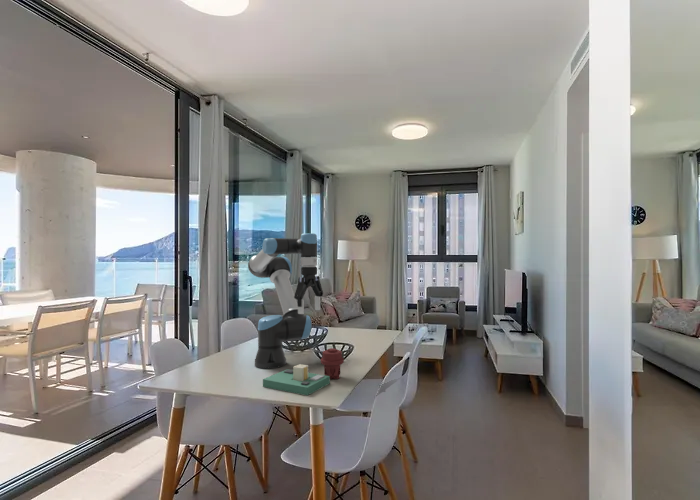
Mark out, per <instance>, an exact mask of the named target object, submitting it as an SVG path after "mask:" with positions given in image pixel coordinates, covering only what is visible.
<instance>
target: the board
mask: <svg viewBox="0 0 700 500" xmlns="http://www.w3.org/2000/svg"><path fill="white" fill-rule="evenodd" d="M330 381H331V379H330V376H326V375H324V374H319V373H312V372H308V379H306V380H304V381H297V380H293V369H289V368H288V369H285V370H281V371H280V372H277V373H275V374H273V375H270V376H268V377H265V378H262V387H264V388H269V389H273V390H278V391H282V392H287V393H288V392H289V393H293V394H299V395H303V396H309V395H311V394H313V393H315V392H317V391H318V390H320V389H322V388H324V387H326V386H327V385H329V384H331V383H330Z"/></svg>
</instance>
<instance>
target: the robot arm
mask: <svg viewBox="0 0 700 500" xmlns="http://www.w3.org/2000/svg"><path fill="white" fill-rule="evenodd" d="M317 237H318V236H317V234H316V233H308V232H307V233H301V235H300V238H286V237H285V238H282V237H281V238H280V237H277V238H275V237H270V238H268V237H267V238H264V240H263V242H262V248H261V250H260V251H259V252H258V253H257V254H256V255H253V256H252V257H251V258H250V259H249V260H248V264H247V268H248V271H249V272H250V274H252V275H253V276H255V277H256V278H262V279H264V278H268V279H269V280H270V282H271V283H272V284H274V288H275V290H276V294H277V297H278V300H279V303H280V308H281V310H282V314H283V315H281V314H272V315H267V316H263V317H262V318H260V319H259V320H258V323H257V343H258V344H257V347H258V348H257V352H256V355H255V359H254V367H256V368H258V369H276V368H280V367H284V366H286V364H287V358H286V355H285V351H284V349H283V342H287V341H288V342H290V341H297V340H301V341H302V340H304V339H308V338H309V337H310V334H311V332H312V319H311V317H310V316H309V315H308V314H306V315H305V311H304V310H305V306H304V305H305V303H304V301H305V299H303V298H304V296H305V294H306V291H307V289H308V288H310V287H311V289H312V292H313V293H314V295H315V296H314V310H315V311H321V297H323V296H324V290H323V288H322V284H321V281H320V280H321V279H320V276H319V275H318V267H317V266H318V238H317ZM279 255H300V266H301V268H300V270H301V271H300V275H301V276H302V277H301V276H299V277H298V280H297V281H298V282H297V284H296V289H295V292H294V289H293V286H292V283H291V281H290V278H291V276H292V272H293V266H292V262H291V260H290V259H289V258H288V257H286V256H285V257H284V256H279Z"/></svg>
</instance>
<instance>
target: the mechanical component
mask: <svg viewBox="0 0 700 500" xmlns="http://www.w3.org/2000/svg"><path fill="white" fill-rule="evenodd" d="M344 362H345V359H344V358H343V352H342V350H340V349H337V348H332V347H331V348H328V349H326V350H323V351H322V357H321V358H320V363H321V365H323V367H324V368H323V370H324V371H323V373H324V374H323V375H326V376H330V380H340V375H341V365H342V364H344Z"/></svg>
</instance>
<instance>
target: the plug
mask: <svg viewBox="0 0 700 500" xmlns="http://www.w3.org/2000/svg"><path fill="white" fill-rule="evenodd" d="M292 370H293V380H297V381H304V380H306V379H308V373H309V365H308V364H301V363H299V364H297V365H294V366H293V367H292Z"/></svg>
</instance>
